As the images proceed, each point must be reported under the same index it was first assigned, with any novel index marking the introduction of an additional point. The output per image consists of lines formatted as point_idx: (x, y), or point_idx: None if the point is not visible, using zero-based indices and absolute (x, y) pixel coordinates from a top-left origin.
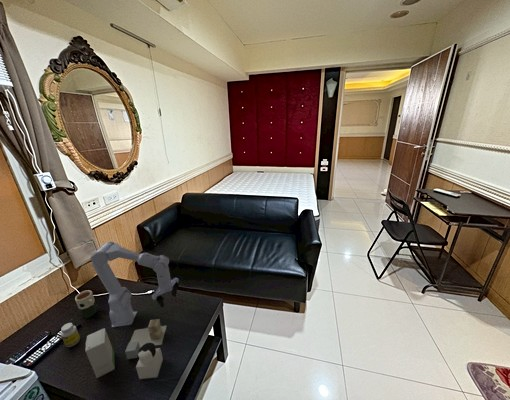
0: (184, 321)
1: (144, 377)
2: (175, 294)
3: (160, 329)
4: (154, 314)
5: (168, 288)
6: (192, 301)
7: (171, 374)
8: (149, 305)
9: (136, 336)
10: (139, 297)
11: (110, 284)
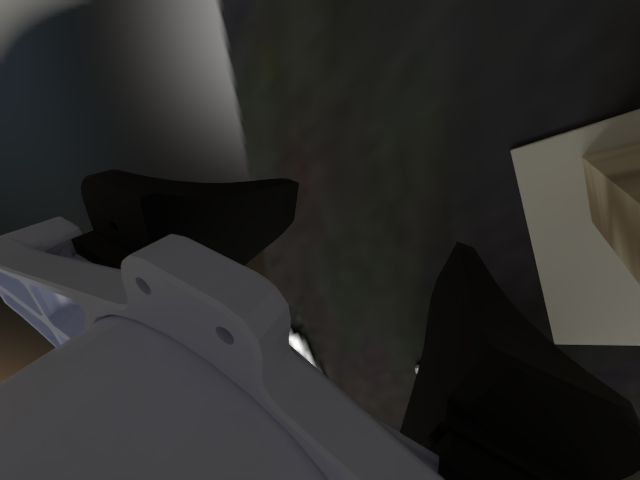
0: (451, 7)
1: None
2: (272, 184)
3: (636, 160)
4: (415, 279)
5: (187, 409)
6: (265, 83)
7: None
8: (363, 323)
9: (625, 321)
10: (334, 373)
11: None
